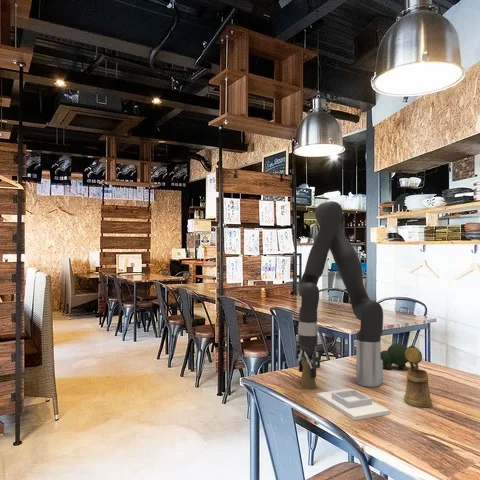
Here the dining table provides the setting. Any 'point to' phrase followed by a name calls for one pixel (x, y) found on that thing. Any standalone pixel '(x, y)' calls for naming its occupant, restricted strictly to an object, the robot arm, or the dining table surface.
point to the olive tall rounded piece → (307, 376)
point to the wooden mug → (416, 380)
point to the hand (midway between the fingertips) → (307, 374)
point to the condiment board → (353, 404)
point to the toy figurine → (394, 356)
